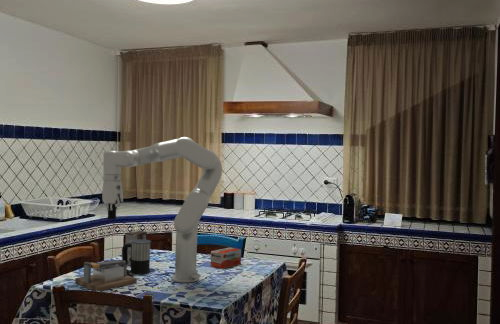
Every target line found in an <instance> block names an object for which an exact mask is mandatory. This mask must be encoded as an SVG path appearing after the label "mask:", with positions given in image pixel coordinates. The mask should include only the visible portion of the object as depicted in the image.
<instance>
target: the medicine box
mask: <svg viewBox="0 0 500 324" xmlns="http://www.w3.org/2000/svg"><path fill="white" fill-rule="evenodd" d="M241 263H242V249H240V248H237V247H236V248H234V247H230V246H229V247H226V248H222V249H221V248H220V249H216V250H212V251H210V267H211V268H214V269H215V268H216V269H220V270H224V269H227V268H232V267H235V266H239V265H242V264H241Z"/></svg>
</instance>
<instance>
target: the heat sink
mask: <svg viewBox="0 0 500 324" xmlns="http://www.w3.org/2000/svg"><path fill="white" fill-rule="evenodd" d="M91 263H92V262H88V261H84V262H83V277H84V282H86V283H91V275H93V278H95V279H98V280H100V281H103V282H109V281H114V280H119V279H124V276H127V269H128V265H127V264H120V265H112V266H104V267H99V268H91ZM91 273H92V274H91Z"/></svg>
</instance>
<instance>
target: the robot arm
mask: <svg viewBox="0 0 500 324" xmlns="http://www.w3.org/2000/svg"><path fill="white" fill-rule="evenodd" d="M179 158H183V159H185V160H186V161H188V162H190V163H192V164H193V165H195V166H197V167H198V168H200V169H202V174H201V175H200V177H199V178H198V181H197V183H196V184H195V186H194V188H192V191H190V192H189V194H188V195H187V197H186V198H185V200H184V202H183V204H182V206H181V207H180V209H179V211H178V213H177V214H176V215H175V218H174V219H173V220H174V222H173V226H174V229H175V230H176V231H175V255H174V256H175V257H174V258H175V260H174V261H175V262H174V264H175V265H174V274H173V275H172V276H171V281H173V282H176V283H187V284H188V283H195V282H197V281H198V282H199V280H200V279H201V275H202V274H200V273H198V269H197V258H198V257H197V256H198V255H197V254H198V253H197V251H198V250H197V249H198V248H197V247H198V228H199V222H200V219H201V218H202V216H203V214H204V212H206V209H207V207H208V205H209V203H210V200H211V198H212V196H213V194H214V192H215V190H216V189H217V186H218V185H219V183H220V180H221V178H222V176H223V175H222V174H223V168H222V167H223V166H222V162H221V160H220V158H219V156H218V155H217V153H215V152H214V150H210V149H207V148H205V147H204V146H202V145H200V144H199V143H198V142H195V141H194V140H193V139H192V138H191V137H188V136H182V137H180V138H175V139H170V140H166V141H161V142H157V143H154V144H152V145H149V146H146V147H142V148H141V147H140V148H137V149H133V150H131V149H130V150H122V151H120V150H105V151H104V152H103V160H102V161H103V165H102V166H103V167H102V168H103V171H102V173H103V175H102V176H103V181H102V190H101V191H102V195H101V197H102V198H101V199H102V202H103V204H104V206H106V210H107V219H108V220H116V219H117V209H118V207H120V206H121V204H123V203H124V192H123V191H124V190H123V182H122V181H121V179H122V178H121V177H122V168H132V167H137V166H142V165H145V164H151V163H161V162H166V161H171V160H174V159H179Z"/></svg>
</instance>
